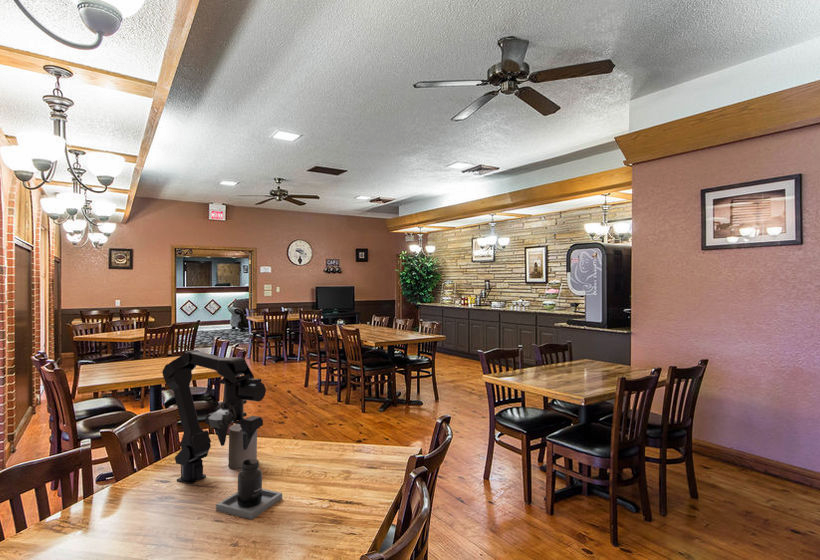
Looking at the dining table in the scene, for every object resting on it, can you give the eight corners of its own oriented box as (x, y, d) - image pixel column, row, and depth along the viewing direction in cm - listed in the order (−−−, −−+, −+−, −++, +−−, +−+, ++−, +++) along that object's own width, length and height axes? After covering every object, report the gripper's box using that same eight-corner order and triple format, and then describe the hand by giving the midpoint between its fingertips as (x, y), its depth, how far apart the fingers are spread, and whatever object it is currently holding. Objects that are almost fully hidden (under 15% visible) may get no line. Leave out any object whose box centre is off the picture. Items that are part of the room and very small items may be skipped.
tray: (215, 510, 128) (216, 504, 128) (248, 491, 140) (248, 485, 140) (251, 519, 123) (251, 513, 123) (282, 498, 135) (282, 493, 135)
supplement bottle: (260, 507, 129) (260, 465, 129) (235, 509, 128) (235, 467, 128) (263, 496, 136) (263, 456, 136) (239, 498, 135) (240, 458, 135)
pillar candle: (222, 467, 158) (222, 424, 158) (242, 457, 167) (242, 417, 167) (243, 472, 155) (244, 428, 155) (262, 461, 164) (263, 420, 164)
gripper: (191, 401, 138) (190, 452, 138) (238, 407, 131) (238, 461, 131) (219, 393, 149) (218, 440, 148) (264, 398, 142) (264, 448, 141)
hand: (233, 447), depth 142 cm, fingers open, 9 cm apart
